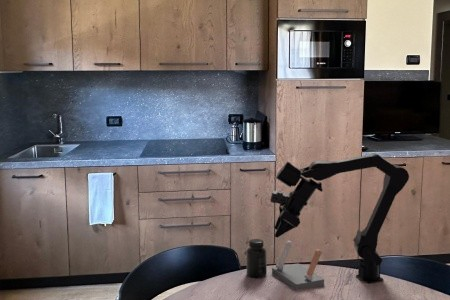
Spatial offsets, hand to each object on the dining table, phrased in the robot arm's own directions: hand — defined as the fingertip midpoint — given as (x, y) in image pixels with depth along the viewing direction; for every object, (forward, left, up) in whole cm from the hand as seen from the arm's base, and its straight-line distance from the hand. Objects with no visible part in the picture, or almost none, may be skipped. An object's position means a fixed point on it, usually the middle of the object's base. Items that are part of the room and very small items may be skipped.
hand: (275, 232), depth 155 cm
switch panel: (-5, +6, -15) cm, 17 cm away
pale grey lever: (-1, +1, -12) cm, 12 cm away
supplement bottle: (+6, -3, -15) cm, 16 cm away
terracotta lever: (-5, +12, -12) cm, 18 cm away
